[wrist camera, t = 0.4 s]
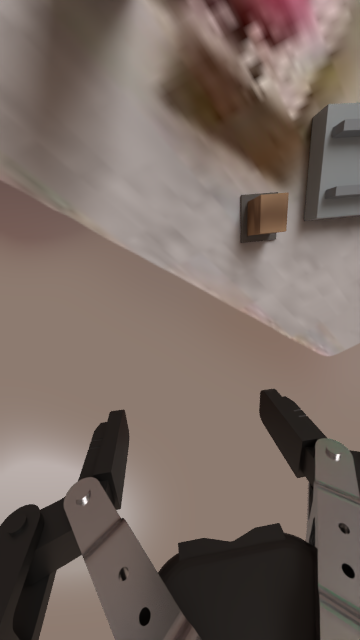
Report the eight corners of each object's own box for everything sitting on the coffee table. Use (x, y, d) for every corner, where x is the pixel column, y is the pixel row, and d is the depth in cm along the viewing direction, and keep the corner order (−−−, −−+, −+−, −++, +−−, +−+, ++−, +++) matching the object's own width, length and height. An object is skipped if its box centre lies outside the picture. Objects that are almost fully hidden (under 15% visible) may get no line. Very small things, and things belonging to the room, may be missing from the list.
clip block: (247, 201, 34) (261, 194, 30) (271, 199, 34) (288, 192, 30) (247, 235, 35) (260, 233, 31) (270, 233, 36) (286, 231, 31)
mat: (240, 195, 34) (241, 195, 33) (277, 192, 34) (278, 192, 34) (240, 242, 36) (241, 242, 36) (274, 239, 36) (275, 239, 36)
